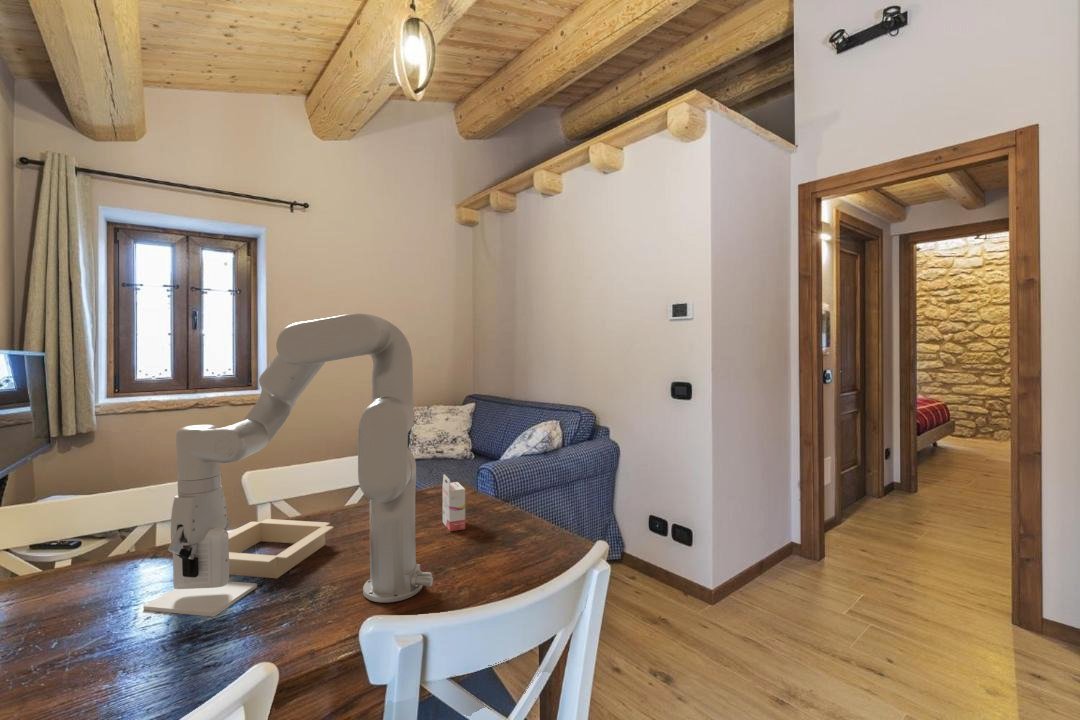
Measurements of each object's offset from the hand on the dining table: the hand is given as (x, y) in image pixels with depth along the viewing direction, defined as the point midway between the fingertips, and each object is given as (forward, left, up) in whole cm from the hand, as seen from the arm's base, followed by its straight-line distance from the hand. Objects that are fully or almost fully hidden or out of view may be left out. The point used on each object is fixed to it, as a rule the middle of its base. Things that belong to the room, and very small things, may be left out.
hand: (202, 568), depth 107 cm
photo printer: (0, 0, -4) cm, 4 cm away
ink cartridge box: (-39, -48, -7) cm, 62 cm away
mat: (0, 0, -6) cm, 6 cm away
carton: (0, -20, -6) cm, 21 cm away
